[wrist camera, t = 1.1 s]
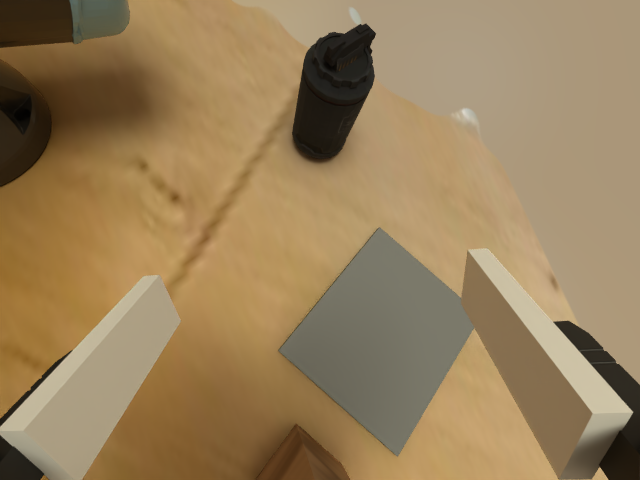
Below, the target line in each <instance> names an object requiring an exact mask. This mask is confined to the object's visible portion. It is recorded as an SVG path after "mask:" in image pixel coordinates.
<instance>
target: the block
mask: <svg viewBox="0 0 640 480" xmlns="http://www.w3.org/2000/svg"><path fill="white" fill-rule="evenodd" d="M256 480H350V478H349V476H348V475H347V473H346V471H345V469H344V467H343V465H342V464H341V463H340V462H339V461H338V460H336V459H335V458H334V457H333V456H332V455H331V454H330V453H329V452H328V451H326V450H325V449H324V448H323V447H322V446H321V445H320V444H319V443H317V442H316V441H315V440H314V439H313V438H312V437H311V436H310V435H309V434H307V433H306V432H305V431H304V430H303V429H302V428H301V427H300V426H298V425H297V424H296V425H295V426H294V428H293V429H292V430H291V432H290V433H289V434H288V436H287V437H286V439H285V440H284V441H283V443H282V444H281V445H280V447H279V448H278V450H277V451H276V452H275V454H274V455H273V456H272V458H271V459H270V460H269V462H268V463H267V465H266V466H265V467H264V469H263V470H262V471H261V473H260V474H259V476H258V477H257V478H256Z"/></svg>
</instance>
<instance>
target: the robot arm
mask: <svg viewBox="0 0 640 480" xmlns="http://www.w3.org/2000/svg"><path fill="white" fill-rule="evenodd" d="M129 19H130V11H129V6H128V1H127V0H0V48H3V47H15V46H28V45H41V44H54V43H66V42H73V43H74V44H78V43H81V42H82V41H83V40H84V39H92V38H99V37H106V36H113V35H117V34H119V33H121V32H123V31H124V30H125V28H126V27H127V25H128V24H129ZM50 131H51V116H50V112H49V108H48V106H47V103H46V101H45V100H44V98H43V96H42V95H41V94H40V93H39V91H38V90H37V89H36V88H35V87H34V86H33V85H32V84H31V83H30V82H29V81H28V80H27V79H26V78H25V77H24V76H23V75H22V74H21V73H19V72H18V71H17V70H16V69H14V68H13V67H12V66H10V65H9V64H7V63H6V62H4V61H2V60H0V186H2V185H4V184H6V183H8V182H10V181H11V180H13V179H15V178H16V177H18V176H19V175H21V174H22V173H23V172H25V171H26V170H27V169H28V168H29V167H30V166H31V165H32V164H33V163H34V162H35V161H36V160H37V159H38V157H39V156H40V155H41V153H42V152H43V150H44V148H45V146H46V144H47V142H48V139H49V136H50ZM461 304H462V306H463V308H464V310H465V312H466V313H467V315H468V317H469V319H470V321H471V322H472V324H473V326H474V328H475V330H476V331H477V333H478V335H479V337H480V339H481V340H482V342H483V344H484V346H485V348H486V349H487V351H488V353H489V355H490V357H491V358H492V360H493V362H494V364H495V366H496V367H497V369H498V371H499V373H500V375H501V376H502V378H503V380H504V382H505V384H506V385H507V387H508V389H509V391H510V393H511V394H512V396H513V398H514V400H515V402H516V403H517V405H518V407H519V409H520V411H521V412H522V414H523V416H524V418H525V420H526V421H527V423H528V425H529V427H530V429H531V430H532V432H533V434H534V436H535V438H536V439H537V441H538V443H539V445H540V447H541V448H542V450H543V452H544V454H545V455H546V457H547V459H548V461H549V463H550V464H551V466H552V468H553V470H554V472H555V473H556V475H557V477H558V479H592V478H593V476H594V475H595V473H596V472H597V470H598V468H599V467H600V468H601V469H602V471H603V472H604V473H605V475H606V476H607V478H608V479H609V480H640V385H639V384H638V383H637V382H636V381H635V380H634V379H633V378H632V377H631V376H630V375H629V374H628V373H627V372H626V371H625V370H624V369H623V368H622V367H621V366H620V365H619V364H617V363H616V361H615V359H614V358H613V357H612V356H610V354H609V353H608V352H607V351H604V350H603V347H602V346H600V344H599V343H598V342H597V341H596V340H595V339H594V338H593V337H592V336H591V335H590V334H589V333H587V332H586V331H584V330H583V329H581V328H579V327H578V326H576V325H575V324H573V323H571V322H570V321H557V322H553V321H552V320H551V319H550V318H549V317H548V316H547V315H546V314H545V312H544V311H543V310H542V309H541V308H540V307H539V306H538V305H537V303H536V302H535V301H534V300H533V299H532V298H531V297H530V296H529V294H528V293H527V292H526V291H525V290H524V289H523V288H522V287H521V285H520V284H519V283H518V282H517V281H516V280H515V279H514V278H513V276H512V275H511V274H510V273H509V272H508V271H507V270H506V269H505V267H504V266H503V265H502V264H501V263H500V262H499V261H498V259H497V258H496V257H495V256H494V255H493V254H492V253H491V252H490V250H489V249H488V248H485V249H473V250H468V251H467V259H466V266H465V274H464V282H463V289H462V297H461ZM180 322H181V320H180V318H179V316H178V314H177V311H176V309H175V307H174V305H173V303H172V300H171V298H170V296H169V294H168V292H167V290H166V287H165V285H164V283H163V281H162V279H161V277H160V275H152V276H143V277H142V278H141V279H140V280H139V281H138V283H137V284H136V285H135V286H134V287H133V288H132V289H131V290H130V291H129V292H128V293H127V294H126V295H125V296H124V297H123V298H122V299H121V300H120V301H119V303H118V304H117V305H116V306H115V307H114V308H113V309H112V310H111V311H110V312H109V313H108V314H107V315H106V316H105V317H104V318H103V319H102V320H101V321H100V322H99V324H98V325H97V326H96V327H95V328H94V329H93V330H92V331H91V332H90V333H89V334H88V335H87V336H86V337H85V338H84V339H83V340H82V341H81V342H80V344H79V345H78V346H77V347H76V348H75V349H74V350H72V351H70V352H69V353H68V354H66V355H65V356H63V357H62V358H61V359H59V360H58V361H57V362H55V363H54V364H53V365H52V366H51V367H50V368H49V369H48V370H47V371H46V372H45V373H44V375H43V376H42V378H41V379H39V380H38V381H37V382H36V383H35V384H34V385H33V386H32V387H31V390H30V391H27V392H26V393H25V394H24V395H23V396H22V397H21V398H20V399H19V400H18V401H17V402H16V403H15V404H14V405H13V406H12V407H11V408H10V409H9V410H8V412H7V413H6V414H5V415H4V416H3V417H2V418H1V419H0V480H40V479H41V478H42V476H43V475H45V476H46V477H47V478H48V479H50V480H82V479H83V477H84V476H85V474H86V473H87V471H88V469H89V468H90V466H91V465H92V463H93V461H94V460H95V458H96V457H97V455H98V453H99V452H100V450H101V449H102V447H103V445H104V444H105V442H106V441H107V439H108V437H109V436H110V434H111V433H112V431H113V429H114V428H115V426H116V425H117V423H118V421H119V420H120V418H121V417H122V415H123V413H124V412H125V410H126V409H127V407H128V405H129V404H130V402H131V401H132V399H133V397H134V396H135V394H136V393H137V391H138V389H139V388H140V386H141V385H142V383H143V381H144V380H145V378H146V377H147V375H148V373H149V372H150V370H151V368H152V367H153V365H154V364H155V362H156V360H157V359H158V357H159V356H160V354H161V352H162V351H163V349H164V348H165V346H166V344H167V343H168V341H169V340H170V338H171V336H172V335H173V333H174V332H175V330H176V328H177V327H178V325H179V324H180Z"/></svg>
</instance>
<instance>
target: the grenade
mask: <svg viewBox="0 0 640 480" xmlns="http://www.w3.org/2000/svg"><path fill="white" fill-rule="evenodd" d="M375 35H376V33H375V32H374V31H373V30H372V29H371V28H370V27H369V26H368V25H367V24H364V25H361V24H360V25H358V26H357V27H355V28H353V29H352V30H350V31H348V32H347V33H345V34H342V33H336V32H332V33H329V34H328V35H327V36H325V37H323V38H319V40H318V41H317V42H316V44H314V45H312V46H311V48H310V49H309V50H308V51H307V53H306V56H305V59H304V63H303V70H302V76H301V82H300V88H299V94H298V100H297V106H296V113H295V119H294V125H293V132H292V134H293V138H294V141H295V143H296V145H297V146H298V148H299V149H300V150H301V151H303V152H304V153H305V154H307V155H309V156H311V157H314V158H320V159H323V158H330V157H332V156H334V155H336V154H337V153H338V152H339V151H340V150H341V149H342V147H343V145H344V143H345V141H346V138H347V136H348V134H349V132H350V130H351V128H352V126H353V124H354V122H355V120H356V118H357V116H358V114H359V112H360V110H361V108H362V106H363V104H364V102H365V100H366V98H367V96H368V94H369V91H370V89H371V88H372V86H373V82H374V77H375V75H374V68H373V65H372V63H373V60H372V56H371V53H372V50H371V48H370V45H371V43H372V40H373V39H374V38H375Z"/></svg>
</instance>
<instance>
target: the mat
mask: <svg viewBox="0 0 640 480" xmlns="http://www.w3.org/2000/svg"><path fill="white" fill-rule="evenodd" d="M473 329H474V326H473V324H472V322H471V321H470V319H469V317H468V315H467V313H466V312H465V310H464V308H463V306H462V304H461V298H460V297H459V296H458V295H457V294H456V293H455V292H453V291H452V290H451V289H450V288H449V287H448V286H447V285H445V284H444V283H443V282H442V281H441V280H440V279H439V278H437V277H436V276H435V275H434V274H433V273H432V272H430V271H429V270H428V269H427V268H426V267H425V266H424V265H422V264H421V263H420V262H419V261H418V260H417V259H416V258H414V257H413V256H412V255H411V254H410V253H409V252H407V251H406V250H405V249H404V248H403V247H402V246H401V245H399V244H398V243H397V242H396V241H395V240H394V239H393V238H391V237H390V236H389V235H388V234H387V233H386V232H385V231H383V230H382V229H381V228H380V227H379V228H378V229H377V230H376V231H375V233H374V234H373V235H372V236H371V238H370V239H369V240H368V241H367V242H366V244H365V245H364V246H363V247H362V249H361V250H360V251H359V252H358V253H357V255H356V256H355V257H354V258H353V260H352V261H351V262H350V263H349V264H348V266H347V267H346V268H345V269H344V271H343V272H342V273H341V274H340V275H339V277H338V278H337V279H336V280H335V282H334V283H333V284H332V285H331V286H330V288H329V289H328V290H327V291H326V293H325V294H324V295H323V296H322V297H321V299H320V300H319V301H318V302H317V304H316V305H315V306H314V307H313V308H312V310H311V311H310V312H309V313H308V315H307V316H306V317H305V318H304V319H303V321H302V322H301V323H300V324H299V326H298V327H297V328H296V329H295V330H294V332H293V333H292V334H291V335H290V337H289V338H288V339H287V340H286V341H285V343H284V344H283V345H282V346H281V348H280V349H279V350H278V351H279V352H280V353H282V354H283V355H284V356H285V357H286V358H287V359H288V360H289V361H291V362H292V363H293V364H294V365H295V366H296V367H297V368H298V369H300V370H301V371H302V372H303V373H304V374H305V375H306V376H307V377H309V378H310V379H311V380H312V381H313V382H314V383H315V384H316V385H318V386H319V387H320V388H321V389H322V390H323V391H324V392H325V393H327V394H328V395H329V396H330V397H331V398H332V399H333V400H334V401H336V402H337V403H338V404H339V405H340V406H341V407H342V408H343V409H345V410H346V411H347V412H348V413H349V414H350V415H351V416H352V417H354V418H355V419H356V420H357V421H358V422H359V423H360V424H361V425H363V426H364V427H365V428H366V429H367V430H368V431H369V432H370V433H372V434H373V435H374V436H375V437H376V438H377V439H378V440H379V441H381V442H382V443H383V444H384V445H385V446H386V447H387V448H388V449H390V450H391V451H392V452H393V453H394V454H395V455H396V456H397V457H398V455H399V454H400V452H401V450H402V449H403V447H404V445H405V444H406V442H407V440H408V439H409V437H410V435H411V433H412V432H413V430H414V428H415V427H416V425H417V423H418V422H419V420H420V418H421V417H422V415H423V413H424V411H425V410H426V408H427V406H428V405H429V403H430V401H431V400H432V398H433V396H434V395H435V393H436V391H437V390H438V388H439V386H440V384H441V383H442V381H443V379H444V378H445V376H446V374H447V373H448V371H449V369H450V368H451V366H452V364H453V362H454V361H455V359H456V357H457V356H458V354H459V352H460V351H461V349H462V347H463V346H464V344H465V342H466V341H467V339H468V337H469V335H470V334H471V332H472V330H473Z"/></svg>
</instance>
